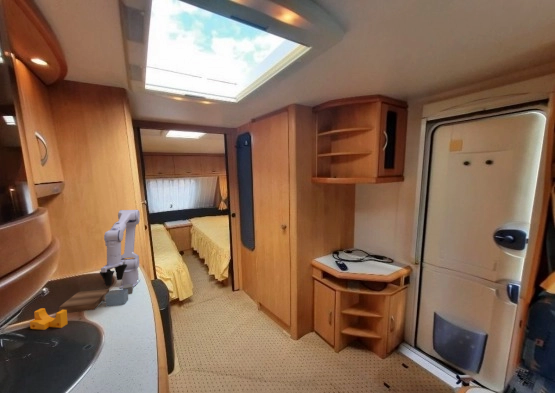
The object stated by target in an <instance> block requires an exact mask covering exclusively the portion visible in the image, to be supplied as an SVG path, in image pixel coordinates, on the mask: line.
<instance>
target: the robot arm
mask: <svg viewBox="0 0 555 393" xmlns="http://www.w3.org/2000/svg"><path fill="white" fill-rule="evenodd" d="M140 217H141V212H140V210H139V209H120V210H119V211H118V212H117V218H118V221H116V222H114V224H113V225H112V226H111V228H110V229H109V230H107V231H105V232H104V237H103V239H104V243H105V244H104V245H105V247H106V264H105V265H104V266H103V267H100V271H99V275H100V276H101V277H102V279H103V281H104V284H105V286H106V287H108V286H109V287H110V286H112V284H113V283H112V282H113V276H114V274H115V275H116V276H115V278H116V280H117V281H121V285H120V286H119V287H118V288H119V289H123V286H124V285H128V284H133V288H135V287H136V286H137V284H138V283H139V282H137V280H138V279H140V278H139V267H140V255H139V254H137V253H136V252H135V241H136V239H135V238H136V228H137V225H138V224H140V219H141V218H140ZM124 233H125V237H124ZM123 238H125V240H124V241H125V242H124V253H123V254H122V241H123ZM112 269H114V270H112ZM135 285H136V286H135ZM134 286H135V287H134Z"/></svg>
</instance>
